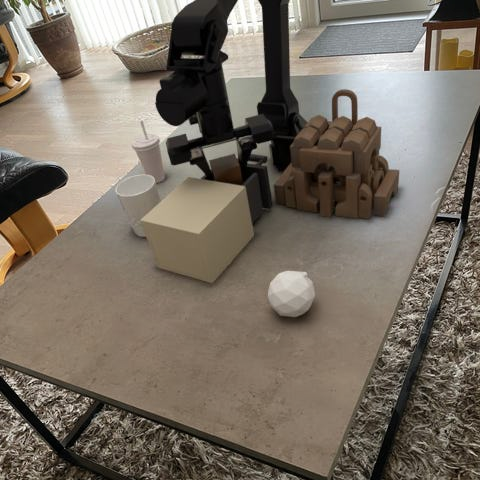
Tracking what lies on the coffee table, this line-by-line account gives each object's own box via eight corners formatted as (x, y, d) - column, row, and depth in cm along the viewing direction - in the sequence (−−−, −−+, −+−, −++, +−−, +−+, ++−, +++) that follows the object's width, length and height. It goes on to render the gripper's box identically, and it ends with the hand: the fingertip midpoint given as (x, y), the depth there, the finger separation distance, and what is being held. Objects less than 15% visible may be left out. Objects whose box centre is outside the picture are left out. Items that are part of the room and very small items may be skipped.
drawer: (237, 185, 105) (229, 147, 99) (283, 193, 99) (279, 153, 93) (188, 234, 95) (177, 194, 89) (237, 245, 90) (229, 204, 83)
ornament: (274, 291, 80) (300, 254, 76) (306, 321, 78) (334, 284, 74) (250, 299, 75) (276, 259, 71) (283, 332, 73) (312, 293, 68)
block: (239, 177, 94) (234, 153, 91) (244, 189, 91) (239, 165, 87) (214, 183, 94) (208, 160, 91) (218, 196, 91) (213, 172, 87)
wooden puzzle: (271, 209, 98) (258, 118, 85) (299, 172, 106) (291, 84, 93) (380, 224, 88) (384, 124, 75) (401, 182, 97) (408, 85, 84)
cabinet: (201, 223, 98) (188, 176, 91) (254, 235, 93) (245, 186, 85) (157, 267, 91) (139, 220, 83) (212, 283, 85) (198, 233, 77)
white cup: (139, 244, 97) (122, 201, 90) (127, 226, 102) (110, 184, 95) (174, 228, 99) (160, 185, 92) (161, 212, 104) (147, 169, 97)
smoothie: (165, 185, 112) (147, 126, 102) (140, 186, 114) (120, 129, 104) (173, 171, 116) (157, 113, 106) (149, 172, 118) (130, 115, 108)
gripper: (254, 70, 87) (265, 151, 98) (153, 95, 86) (175, 174, 97) (269, 91, 79) (279, 177, 90) (157, 119, 78) (182, 202, 89)
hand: (228, 182), depth 92 cm, fingers closed on block, 5 cm apart
